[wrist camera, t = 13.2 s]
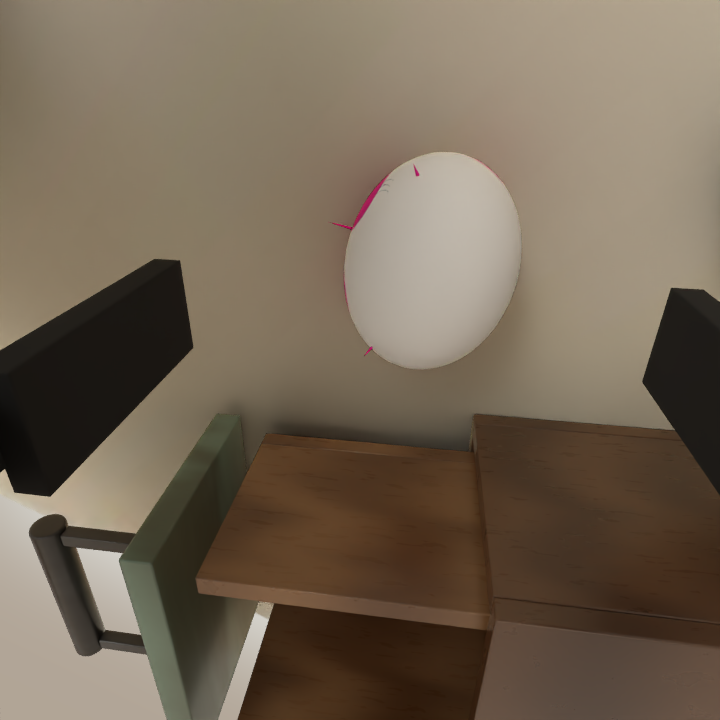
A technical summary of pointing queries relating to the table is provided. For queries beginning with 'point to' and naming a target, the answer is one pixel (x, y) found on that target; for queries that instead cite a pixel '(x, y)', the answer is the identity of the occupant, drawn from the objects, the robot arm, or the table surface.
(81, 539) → the drawer
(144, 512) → the table surface
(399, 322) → the stress ball
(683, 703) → the cabinet
